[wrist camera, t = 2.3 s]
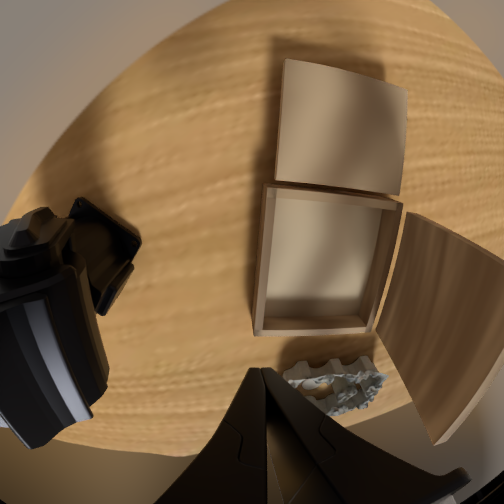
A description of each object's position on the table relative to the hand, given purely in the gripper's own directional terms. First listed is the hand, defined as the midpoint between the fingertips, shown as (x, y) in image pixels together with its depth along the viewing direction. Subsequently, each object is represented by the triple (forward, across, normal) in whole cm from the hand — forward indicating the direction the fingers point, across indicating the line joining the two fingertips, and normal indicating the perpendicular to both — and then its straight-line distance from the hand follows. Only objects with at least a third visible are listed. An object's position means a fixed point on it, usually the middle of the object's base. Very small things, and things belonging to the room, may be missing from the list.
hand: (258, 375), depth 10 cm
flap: (+9, +11, 0) cm, 14 cm away
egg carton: (+12, +10, -14) cm, 21 cm away
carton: (+12, +6, +4) cm, 14 cm away
